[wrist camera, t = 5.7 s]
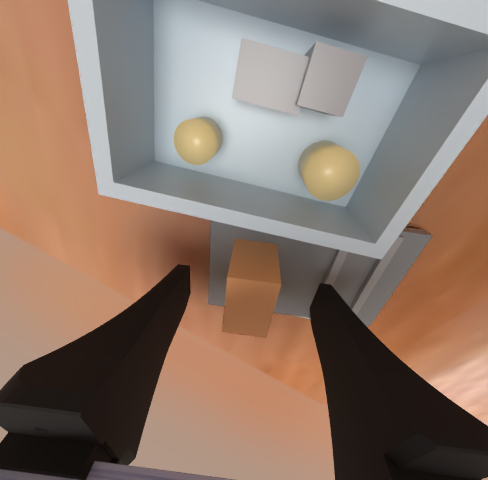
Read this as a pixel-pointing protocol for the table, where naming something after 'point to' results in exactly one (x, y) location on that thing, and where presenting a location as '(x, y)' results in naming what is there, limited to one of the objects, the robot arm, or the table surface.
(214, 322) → the table surface
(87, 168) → the table surface
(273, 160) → the tub
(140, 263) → the table surface
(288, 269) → the lid
